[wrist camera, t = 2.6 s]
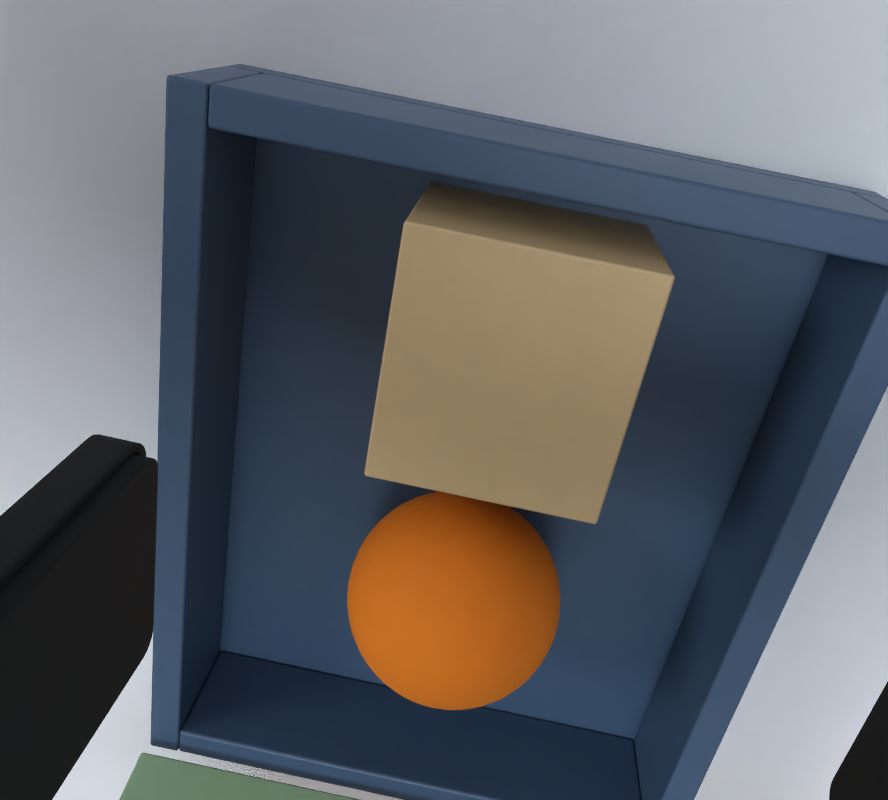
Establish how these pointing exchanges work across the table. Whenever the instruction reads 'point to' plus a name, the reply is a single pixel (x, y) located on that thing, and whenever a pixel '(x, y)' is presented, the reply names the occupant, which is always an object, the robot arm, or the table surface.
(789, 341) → the blue shallow tray
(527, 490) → the tan rectangular block
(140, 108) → the table surface
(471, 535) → the clementine
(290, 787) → the lid
